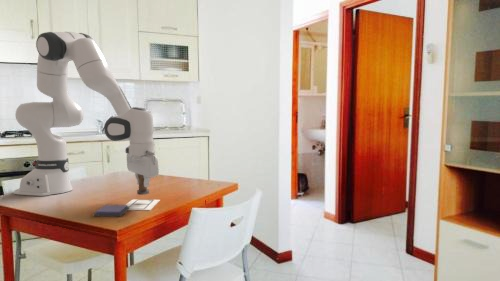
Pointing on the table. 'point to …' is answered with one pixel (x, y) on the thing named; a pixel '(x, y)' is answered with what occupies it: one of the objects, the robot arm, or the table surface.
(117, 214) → the inkpad
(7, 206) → the table surface
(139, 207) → the sheet
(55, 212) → the table surface
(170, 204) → the table surface
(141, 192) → the stamp
